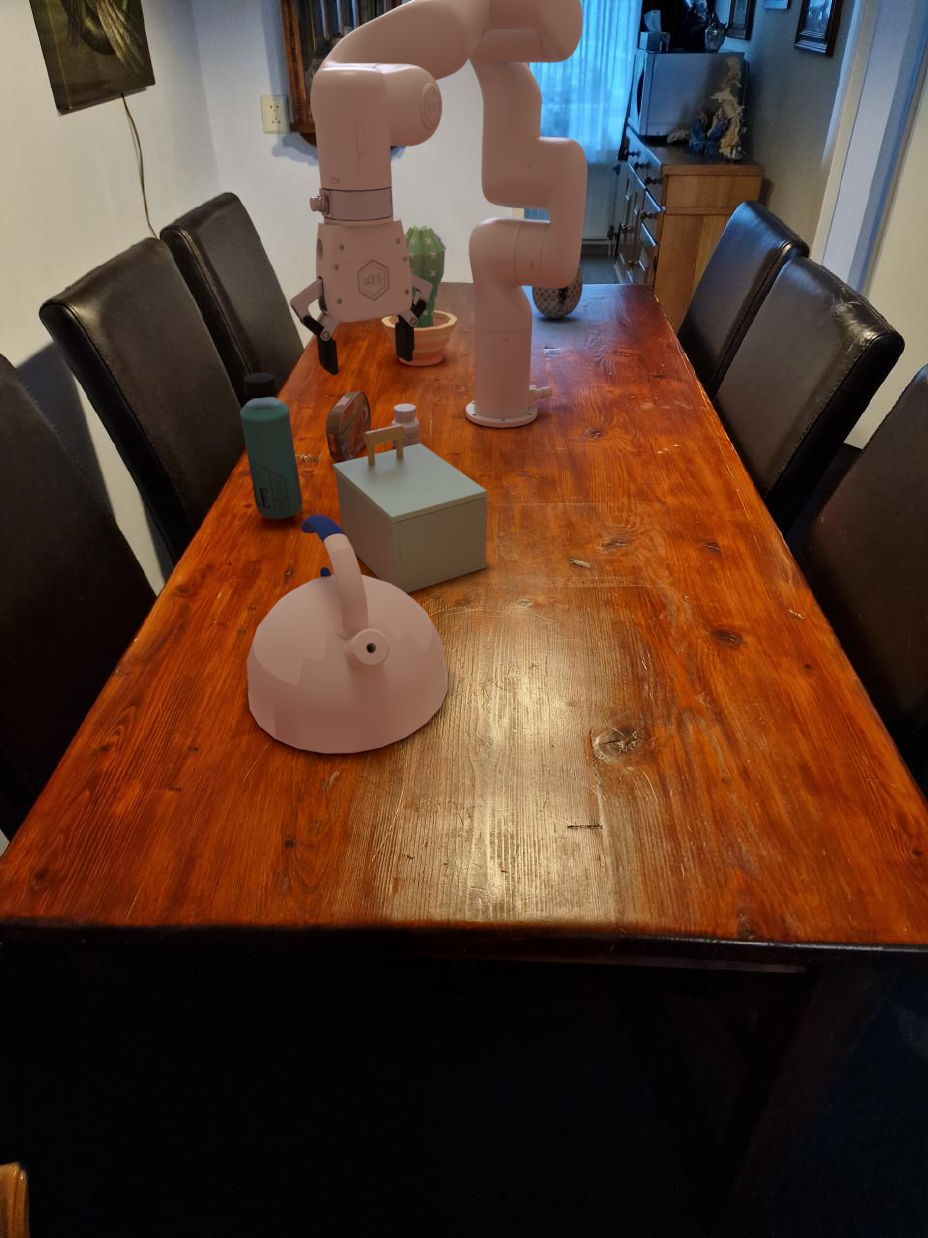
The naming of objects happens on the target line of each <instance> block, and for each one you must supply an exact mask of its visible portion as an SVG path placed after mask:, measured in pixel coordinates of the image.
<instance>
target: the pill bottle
mask: <svg viewBox="0 0 928 1238" xmlns="http://www.w3.org/2000/svg"><path fill="white" fill-rule="evenodd" d="M416 417H417V407H416V405H414V404H411V403H398V404H396V405H394V406H393V418H394V419H393V420H392V421H391V426H394V425H398V424H402V425H403V427H404V429H405V438H403V447H407V446H411V445H416V444H420V443H421V430H420V421H419V420H418V419H417V418H416ZM395 449H396V440H395V441H392V450H395Z"/></svg>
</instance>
